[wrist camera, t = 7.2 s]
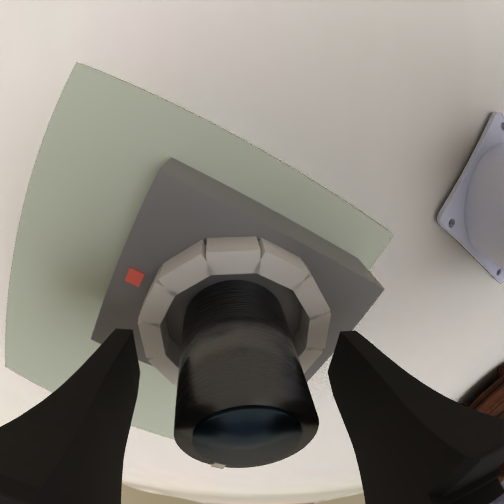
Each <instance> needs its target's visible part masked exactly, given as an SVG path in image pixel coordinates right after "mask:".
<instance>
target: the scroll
mask: <svg viewBox="0 0 504 504" xmlns="http://www.w3.org/2000/svg"><path fill="white" fill-rule="evenodd" d="M498 373H499V376H500V378H499V379H498V380H497V381H496V382H494V383H493V384H492V385H491V386H490V387H489V388H488V389H486V390H485V391H484V392H483V393H482V394H481V395H480V396H479V397H478V398H477V399H476V400H475V401H474V402H473V403H472V404H471V405H470V406H469V408H471V409H474V410H476V411H479V412H482V413H485V414H488V415H491V416H495V417H499V418H503V419H504V367H503V366H499V367H498ZM498 468H499V469H500V471H501V476H499V477H498V480H499V481H500V483H501V482H502V481H503V480H504V462H503V463H502V464H501V465H500V466H499V467H498Z"/></svg>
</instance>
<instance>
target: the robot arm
mask: <svg viewBox="0 0 504 504" xmlns="http://www.w3.org/2000/svg"><path fill="white" fill-rule="evenodd" d="M450 220H451V222H450V224H449V225H448V223H449V221H450ZM437 222H438V223H439V225H440V226H442V227H443V228H444V229H445V230H446V231H447V232H448V233H449V234H450V235H451V236H452V237H454V238H455V239H456V240H457V241H458V242H459V243H460V244H461V245H462V246H463V247H464V248H465V249H466V250H467V251H468V252H469V253H470V254H471V255H472V256H473V257H474V258H475V259H476V260H477V261H478V262H479V263H480V264H481V265H482V266H483V267H484V268H485V269H486V270H487V271H488V272H489V273H490V274H491V275H492V276H493V277H494V278H495V279H496V280H497V281H498V282H499V283H503V282H504V117H503V116H502V115H501V114H500V113H498V112H494V113H492V115H491V117H490V119H489V121H488V123H487V125H486V127H485V129H484V132H483V134H482V136H481V138H480V140H479V142H478V144H477V146H476V148H475V149H474V151H473V153H472V155H471V157H470V159H469V161H468V163H467V165H466V166H465V168H464V170H463V172H462V174H461V175H460V177H459V179H458V181H457V183H456V184H455V186H454V188H453V190H452V191H451V193H450V195H449V196H448V198H447V200H446V201H445V203H444V205H443V206H442V208H441V210H440V211H439V213H438V215H437ZM328 375H329V380H330V384H331V388H332V392H333V396H334V398H335V401H336V404H337V406H338V409H339V411H340V414H341V416H342V419H343V421H344V424H345V426H346V429H347V432H348V434H349V437H350V439H351V442H352V445H353V448H354V451H355V454H356V458H357V462H358V467H359V471H360V475H361V480H362V485H363V490H364V496H365V503H366V504H504V480H503V481H502V482H501V483H500V481H499V480H498V477H499V476H501V471H500V469H499V468H498V467H499V466H500V465H501V464H502V463H503V462H504V419H503V418H499V417H495V416H491V415H488V414H485V413H482V412H479V411H476V410H474V409H471V408H469V407H466V406H464V405H462V404H459V403H457V402H455V401H453V400H451V399H449V398H447V397H445V396H443V395H441V394H440V393H438V392H436V391H435V390H433V389H431V388H430V387H428V386H426V385H425V384H423V383H422V382H420V381H419V380H417V379H416V378H414V377H413V376H412V375H410V374H409V373H408V372H406V371H405V370H403V369H402V368H401V367H400V366H398V365H397V364H396V363H394V362H393V361H392V360H391V359H390V358H388V357H387V356H386V355H385V354H383V353H382V352H381V351H380V350H379V349H377V348H376V347H375V346H374V345H373V344H372V343H370V342H369V341H368V340H367V339H366V338H364V337H363V336H362V335H361V334H359V333H358V332H357V331H340V333H339V337H338V340H337V343H336V347H335V350H334V353H333V357H332V360H331V363H330V366H329V369H328ZM139 380H140V367H139V362H138V357H137V351H136V346H135V340H134V334H133V330H132V329H118V328H116V329H115V330H114V331H113V332H112V333H111V334H110V335H109V336H108V337H107V339H106V340H105V341H104V342H103V343H102V344H101V345H100V346H99V347H98V349H97V350H96V351H95V352H94V353H93V354H92V355H91V356H90V357H89V358H88V359H87V360H86V362H85V363H84V364H83V365H82V366H81V367H80V368H79V369H78V370H77V371H76V372H75V373H74V374H73V375H72V376H71V377H70V378H69V379H68V380H66V381H65V382H64V383H63V384H62V385H61V386H60V387H59V388H58V389H57V390H55V391H54V392H53V393H52V394H51V395H49V396H48V397H47V398H46V399H44V400H43V401H42V402H40V403H39V404H37V405H36V406H34V407H33V408H31V409H30V410H28V411H27V412H25V413H24V414H22V415H21V416H19V417H18V418H16V419H14V420H12V421H11V422H9V423H7V424H5V425H3V426H1V427H0V504H121V486H122V471H123V459H124V453H125V447H126V443H127V438H128V434H129V430H130V425H131V421H132V417H133V413H134V409H135V405H136V401H137V396H138V388H139Z"/></svg>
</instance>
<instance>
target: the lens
mask: <svg viewBox="0 0 504 504" xmlns="http://www.w3.org/2000/svg"><path fill="white" fill-rule="evenodd" d="M318 426H319V418H318V415H317V412H316V409H315V406H314V403H313V400H312V397H311V394H310V391H309V388H308V385H307V382H306V379H305V375H304V372H303V369H302V366H301V363H300V360H299V357H298V354H297V351H296V348H295V345H294V342H293V339H292V336H291V333H290V330H289V327H288V324H287V321H286V318H285V315H284V312H283V309H282V306H281V304H280V302H279V300H278V299H277V298H276V296H275V295H274V294H273V293H272V292H271V291H269V290H268V289H267V288H265V287H263V286H261V285H259V284H257V283H254V282H250V281H245V280H225V281H221V282H217V283H214V284H212V285H210V286H207V287H206V288H204V289H202V290H201V291H200V292H198V293H197V294H196V295H195V296H194V297H193V298H192V300H191V301H190V303H189V304H188V306H187V308H186V311H185V314H184V322H183V331H182V341H181V350H180V360H179V371H178V382H177V393H176V406H175V420H174V438H175V441H176V443H177V445H178V446H179V447H180V449H182V450H183V451H184V452H185V453H186V454H188V455H189V456H191V457H192V458H194V459H196V460H199V461H201V462H204V463H207V464H211V467H216V468H221V469H223V468H224V467H230V468H246V467H256V466H262V465H266V464H270V463H274V462H277V461H280V460H282V459H285V458H287V457H289V456H291V455H293V454H295V453H297V452H298V451H300V450H301V449H303V448H304V447H305V446H306V445H307V444H308V443H309V442H310V441H311V440H312V439H313V438H314V436H315V434H316V433H317V430H318Z"/></svg>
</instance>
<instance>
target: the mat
mask: <svg viewBox="0 0 504 504" xmlns="http://www.w3.org/2000/svg"><path fill="white" fill-rule="evenodd" d="M171 157H172V158H174V159H176V160H178V161H180V162H182V163H184V164H186V165H188V166H190V167H192V168H194V169H196V170H198V171H200V172H202V173H204V174H206V175H208V176H210V177H212V178H214V179H215V180H217V181H219V182H221V183H223V184H225V185H227V186H229V187H231V188H233V189H235V190H236V191H238V192H240V193H242V194H244V195H246V196H248V197H250V198H251V199H253V200H255V201H257V202H259V203H261V204H263V205H264V206H266V207H268V208H270V209H272V210H274V211H275V212H277V213H279V214H281V215H283V216H285V217H286V218H288V219H290V220H292V221H294V222H295V223H297V224H299V225H301V226H302V227H304V228H306V229H308V230H310V231H311V232H313V233H315V234H317V235H318V236H320V237H322V238H324V239H325V240H327V241H329V242H331V243H332V244H334V245H336V246H338V247H339V248H341V249H343V250H344V251H346V252H348V253H350V254H351V255H353V256H355V257H356V258H358V259H359V260H360V261H361V262H362V263H363V265H364V266H365V267H366V268H367V269H368V270H370V269H371V267H372V266H373V264H374V263H375V261H376V260H377V259H378V257H379V256H380V254H381V253H382V251H383V250H384V249H385V247H386V246H387V244H388V243H389V241H390V240H391V238H392V237H393V234H392V233H391V232H389V231H388V230H387V229H385V228H384V227H382V226H381V225H380V224H378V223H377V222H375V221H374V220H372V219H371V218H369V217H368V216H366V215H365V214H364V213H362V212H361V211H359V210H358V209H356V208H355V207H353V206H352V205H350V204H349V203H347V202H346V201H344V200H343V199H341V198H339V197H338V196H336V195H335V194H333V193H332V192H330V191H329V190H327V189H325V188H324V187H322V186H321V185H319V184H317V183H316V182H314V181H313V180H311V179H309V178H308V177H306V176H305V175H303V174H301V173H300V172H298V171H296V170H295V169H293V168H291V167H290V166H288V165H286V164H285V163H283V162H281V161H280V160H278V159H276V158H274V157H273V156H271V155H269V154H267V153H266V152H264V151H262V150H260V149H259V148H257V147H255V146H253V145H252V144H250V143H248V142H246V141H244V140H243V139H241V138H239V137H237V136H235V135H233V134H232V133H230V132H228V131H226V130H224V129H222V128H220V127H218V126H216V125H215V124H213V123H211V122H209V121H207V120H205V119H203V118H201V117H199V116H197V115H195V114H193V113H191V112H189V111H187V110H185V109H183V108H181V107H179V106H177V105H175V104H173V103H171V102H168V101H166V100H164V99H162V98H160V97H158V96H156V95H154V94H151V93H149V92H147V91H145V90H143V89H140V88H138V87H136V86H134V85H131V84H129V83H127V82H124V81H122V80H120V79H117V78H115V77H113V76H110V75H108V74H105V73H103V72H101V71H98V70H96V69H93V68H91V67H88V66H86V65H83V64H80V63H77V62H76V64H75V66H74V68H73V70H72V72H71V74H70V76H69V78H68V80H67V82H66V84H65V87H64V89H63V91H62V93H61V95H60V98H59V100H58V102H57V105H56V107H55V109H54V112H53V114H52V117H51V119H50V122H49V125H48V127H47V130H46V133H45V135H44V138H43V141H42V144H41V147H40V149H39V152H38V156H37V159H36V162H35V165H34V168H33V171H32V175H31V178H30V182H29V185H28V189H27V193H26V197H25V201H24V205H23V209H22V213H21V218H20V222H19V227H18V232H17V237H16V242H15V248H14V254H13V260H12V267H11V274H10V282H9V291H8V301H7V314H6V333H5V367H7V368H9V369H10V370H12V371H14V372H15V373H17V374H19V375H21V376H22V377H24V378H26V379H28V380H30V381H31V382H33V383H35V384H37V385H39V386H41V387H43V388H45V389H47V390H49V391H51V392H54V391H55V390H57V389H58V388H59V387H60V386H61V385H62V384H63V383H64V382H65V381H66V380H68V379H69V378H70V377H71V376H72V375H73V374H74V373H75V372H76V371H77V370H78V369H79V368H80V367H81V366H82V365H83V364H84V363H85V362H86V360H87V359H88V358H89V357H90V356H91V355H92V354H93V353H94V352H95V351H96V350H97V349H98V347H99V346H100V345H101V344H100V343H97V342H95V341H93V340H91V336H92V333H93V330H94V327H95V324H96V321H97V318H98V315H99V312H100V309H101V306H102V303H103V301H104V298H105V295H106V292H107V289H108V287H109V284H110V281H111V279H112V276H113V273H114V271H115V268H116V265H117V263H118V260H119V258H120V255H121V253H122V250H123V248H124V245H125V243H126V241H127V238H128V236H129V233H130V231H131V229H132V226H133V224H134V222H135V220H136V217H137V215H138V213H139V211H140V208H141V206H142V204H143V202H144V200H145V197H146V195H147V193H148V191H149V189H150V187H151V185H152V182H153V180H154V178H155V176H156V174H157V172H158V170H159V169H160V168H161V167H162V166H163V165H164V164H165V163H166V162H167V161H168V160H169V159H170V158H171ZM138 362H139V367H140V380H139V388H138V396H137V401H136V405H135V409H134V413H133V417H132V421H131V426H133V427H136V428H139V429H142V430H145V431H148V432H151V433H154V434H158V435H161V436H164V437H167V438H171V439H174V440H175V438H174V420H175V406H176V393H177V385H176V386H174V385H173V384H172V383H171V382H170V381H169V380H168V379H167V378H166V377H165V376H163V375H162V374H161V373H160V372H159V371H158V370H157V369H156V368H155V367H154V366H151V365H149V364H146V363H144V362H141V361H139V360H138Z"/></svg>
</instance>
